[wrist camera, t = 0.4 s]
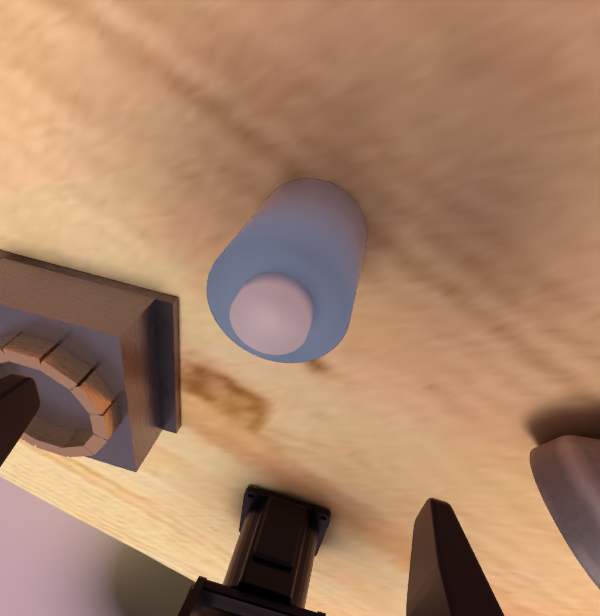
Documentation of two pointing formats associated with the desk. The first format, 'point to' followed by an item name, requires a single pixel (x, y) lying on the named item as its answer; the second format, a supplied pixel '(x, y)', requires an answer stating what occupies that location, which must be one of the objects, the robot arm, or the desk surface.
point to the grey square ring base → (91, 359)
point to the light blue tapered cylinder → (291, 273)
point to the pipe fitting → (572, 494)
